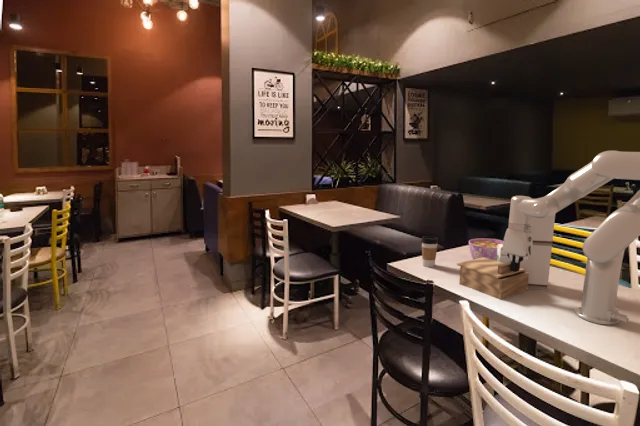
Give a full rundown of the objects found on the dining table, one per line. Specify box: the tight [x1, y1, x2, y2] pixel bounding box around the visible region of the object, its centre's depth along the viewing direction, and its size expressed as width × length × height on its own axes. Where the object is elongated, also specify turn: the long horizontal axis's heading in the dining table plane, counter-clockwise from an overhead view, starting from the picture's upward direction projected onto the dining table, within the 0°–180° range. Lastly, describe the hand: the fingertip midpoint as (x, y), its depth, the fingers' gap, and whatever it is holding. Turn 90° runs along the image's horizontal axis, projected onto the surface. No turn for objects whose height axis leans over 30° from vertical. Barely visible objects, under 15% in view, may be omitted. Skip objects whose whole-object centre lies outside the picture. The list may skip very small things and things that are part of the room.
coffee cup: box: [420, 235, 439, 268], centre depth 189 cm, size 8×8×15 cm
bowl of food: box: [468, 237, 504, 261], centre depth 190 cm, size 20×20×12 cm
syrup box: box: [497, 244, 511, 263], centre depth 173 cm, size 6×6×14 cm
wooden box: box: [459, 266, 529, 300], centre depth 159 cm, size 20×18×8 cm
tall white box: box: [520, 213, 556, 291], centre depth 160 cm, size 11×11×35 cm
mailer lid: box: [456, 257, 525, 278], centre depth 160 cm, size 20×18×4 cm
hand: (514, 270), depth 150 cm, fingers closed
